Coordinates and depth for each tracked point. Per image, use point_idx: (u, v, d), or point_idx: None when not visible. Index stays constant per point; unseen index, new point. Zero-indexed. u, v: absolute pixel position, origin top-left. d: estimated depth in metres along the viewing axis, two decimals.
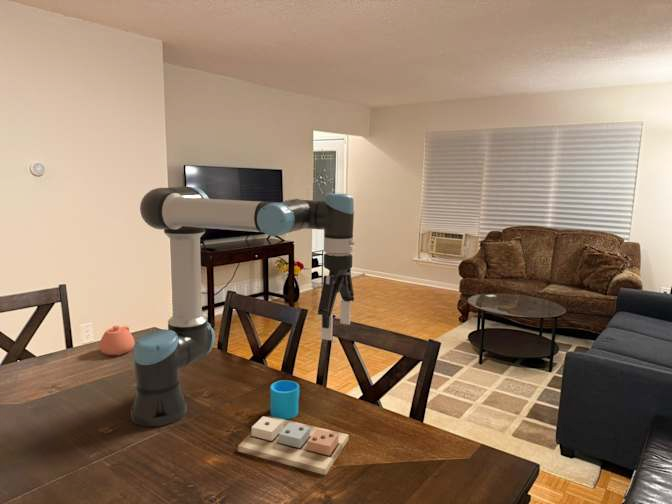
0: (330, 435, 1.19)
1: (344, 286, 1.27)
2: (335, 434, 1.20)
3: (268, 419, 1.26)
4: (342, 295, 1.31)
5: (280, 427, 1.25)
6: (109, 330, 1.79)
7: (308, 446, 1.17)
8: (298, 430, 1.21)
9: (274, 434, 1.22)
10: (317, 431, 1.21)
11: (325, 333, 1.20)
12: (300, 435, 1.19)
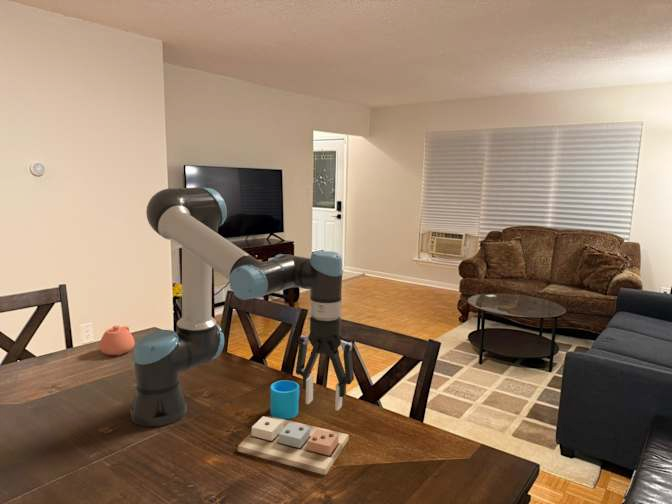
0: (330, 435, 1.19)
1: None
2: (335, 434, 1.20)
3: (268, 419, 1.26)
4: None
5: (280, 427, 1.25)
6: (109, 330, 1.79)
7: (308, 446, 1.17)
8: (298, 430, 1.21)
9: (274, 434, 1.22)
10: (317, 431, 1.21)
11: None
12: (300, 435, 1.19)
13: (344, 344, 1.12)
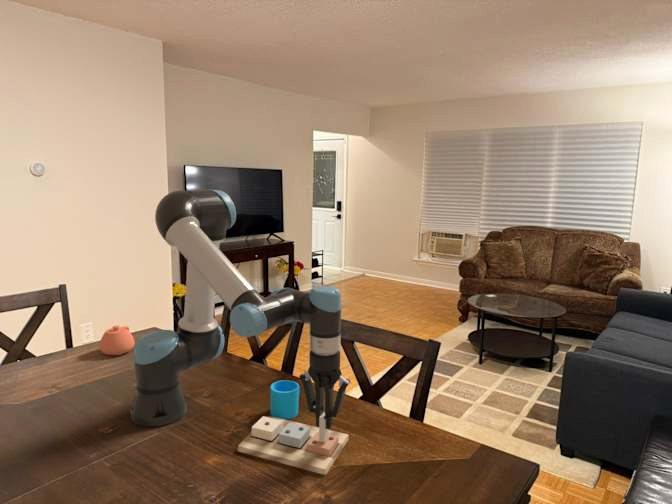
0: (330, 438, 1.19)
1: None
2: (335, 437, 1.20)
3: (268, 419, 1.26)
4: None
5: (280, 427, 1.25)
6: (109, 330, 1.79)
7: (308, 449, 1.17)
8: (298, 430, 1.21)
9: (274, 434, 1.22)
10: (317, 434, 1.21)
11: None
12: (300, 435, 1.19)
13: (342, 380, 1.14)
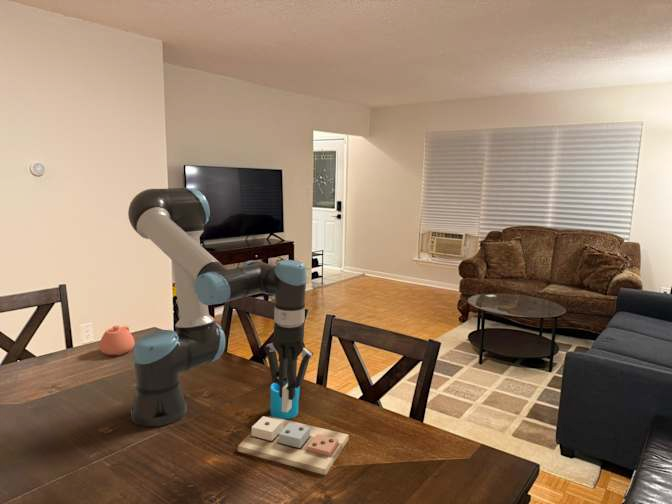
0: (330, 440, 1.19)
1: None
2: (335, 439, 1.20)
3: (268, 419, 1.26)
4: None
5: (280, 427, 1.25)
6: (109, 330, 1.79)
7: (308, 451, 1.17)
8: (298, 430, 1.21)
9: (274, 434, 1.22)
10: (317, 436, 1.21)
11: None
12: (300, 435, 1.19)
13: (305, 353, 1.16)
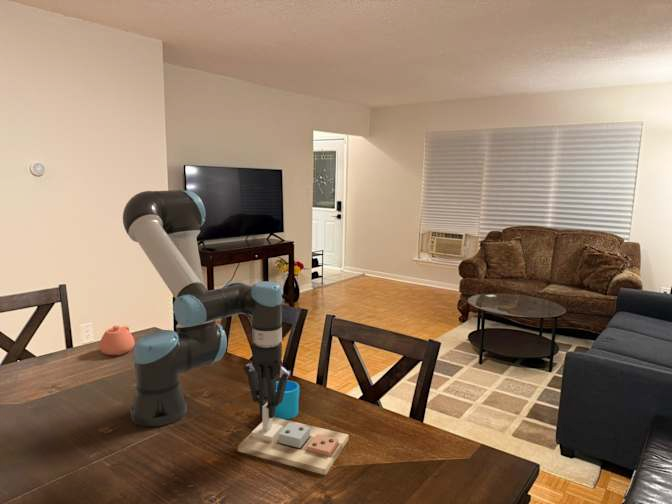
0: (330, 440, 1.19)
1: None
2: (335, 439, 1.20)
3: None
4: None
5: None
6: (109, 330, 1.79)
7: (308, 451, 1.17)
8: (298, 430, 1.21)
9: (274, 439, 1.22)
10: (317, 436, 1.21)
11: None
12: (300, 435, 1.19)
13: (283, 371, 1.19)
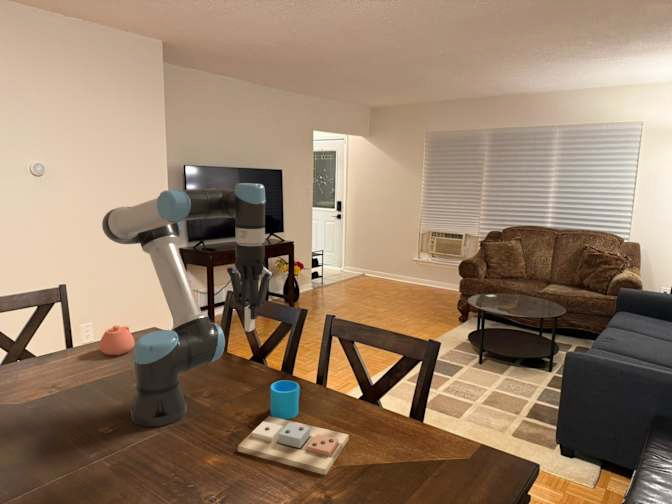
0: (330, 440, 1.19)
1: None
2: (335, 439, 1.20)
3: (268, 424, 1.27)
4: None
5: None
6: (109, 330, 1.79)
7: (308, 451, 1.17)
8: (298, 430, 1.21)
9: (274, 439, 1.22)
10: (317, 436, 1.21)
11: None
12: (300, 435, 1.19)
13: (265, 271, 1.21)
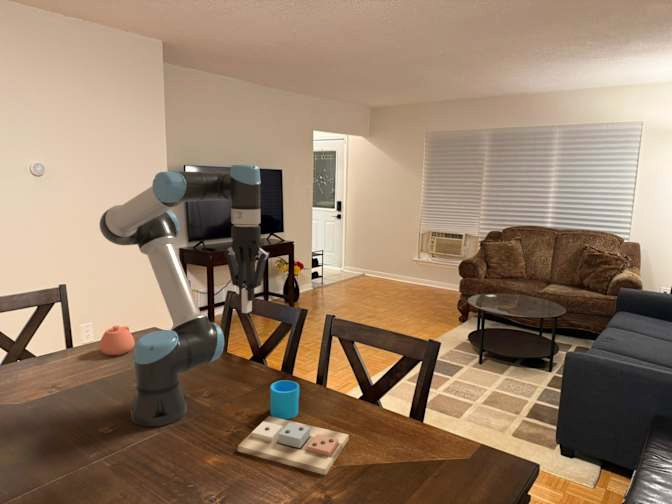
0: (330, 440, 1.19)
1: None
2: (335, 439, 1.20)
3: (268, 424, 1.27)
4: None
5: None
6: (109, 330, 1.79)
7: (308, 451, 1.17)
8: (298, 430, 1.21)
9: (274, 439, 1.22)
10: (317, 436, 1.21)
11: None
12: (300, 435, 1.19)
13: (261, 252, 1.22)
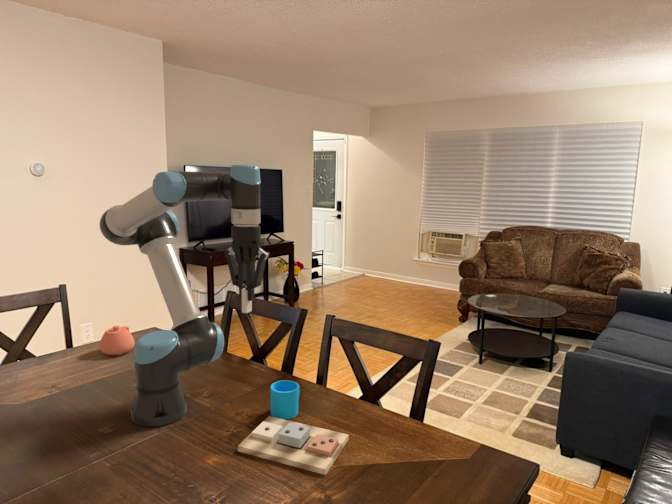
0: (330, 440, 1.19)
1: None
2: (335, 439, 1.20)
3: (268, 424, 1.27)
4: None
5: None
6: (109, 330, 1.79)
7: (308, 451, 1.17)
8: (298, 430, 1.21)
9: (274, 439, 1.22)
10: (317, 436, 1.21)
11: None
12: (300, 435, 1.19)
13: (261, 252, 1.22)
